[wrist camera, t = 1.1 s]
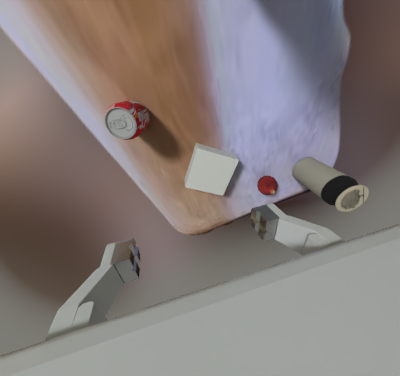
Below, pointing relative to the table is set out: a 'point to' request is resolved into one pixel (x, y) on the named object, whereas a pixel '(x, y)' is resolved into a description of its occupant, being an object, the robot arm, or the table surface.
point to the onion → (267, 185)
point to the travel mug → (330, 184)
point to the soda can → (126, 119)
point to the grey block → (210, 169)
